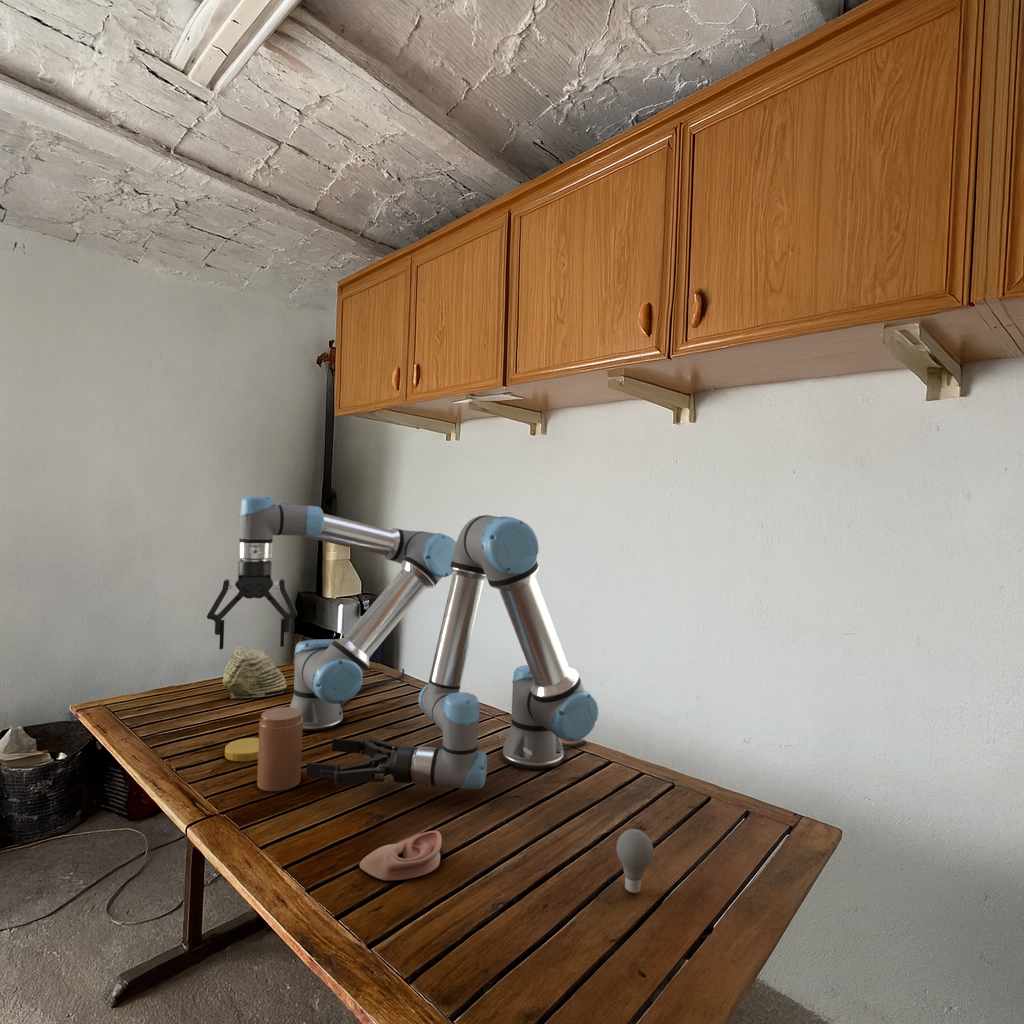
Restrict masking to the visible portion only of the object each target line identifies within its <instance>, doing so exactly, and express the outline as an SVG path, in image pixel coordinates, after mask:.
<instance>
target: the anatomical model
mask: <svg viewBox="0 0 1024 1024" xmlns="http://www.w3.org/2000/svg"><path fill="white" fill-rule="evenodd" d="M442 843H443V838H442V834H441V833H440V831H438V830H429V831H426V832H422V833H418V834H416V835H414V836H411V837H410V838H407V839H404V840H403V841H400V842H397V843H390V844H386V845H382V846H380V847H378V848H375V850H373V851H371V852H370V853H369V854H367V855H366V856H364V857H363V859H362V860H361V861H360V863H359V868H360V869H361V870H362V871H363V872H365V873H367V874H368V875H370V876H372V877H374V878H376V879H378V880H381V881H389V882H390V881H401V880H409V879H413V878H418V877H421V876H424V875H427V874H430V873H431V872H433V871H435V870H436V869H437V868H438V867H439V866H440V863H441V862H440V861H441V853H440V851H441V848H442Z"/></svg>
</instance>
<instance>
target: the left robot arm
mask: <svg viewBox="0 0 1024 1024" xmlns="http://www.w3.org/2000/svg"><path fill="white" fill-rule="evenodd" d="M240 503H241V504H240V510H239V511H240V512H239V539H238V558H239V561H238V564H237V565H238V566H237V579H236V580H231V579H228V578H224V580H223V583H222V589H221V590H220V592H219V594H218V596H217V597H216V599H215V601H214V602H213V604H212V606H211V608H210V609H209V611H208V613H207V614H206V619H207V620H212V621H214V634H215V636H219V646H218V647H219V648H218V649H219V650H224V644H225V643H224V642H225V619H223V618H225V616H226V615H227V614H228V613H229V612H230V611H231V610H232V609H233V608H234V607H235V606H236V605H237V603H239V602H240V601H241V600H242V598H245V599H262V598H264V597H265V599H266V600H268V602H269V603H270V604H271V605H272V606H273V607H274V608H275V610H277V612H278V613H279V614H280V615H281V618H280V637H279V639H280V640H279V647H280V648H284V646H285V633H290V621H291V619H292V618H296V617H298V612H297V610H296V607H295V605H294V604H293V601H292V599H291V597H290V595H289V593H288V591H287V589H286V584H285V579H284V578H280V579H275V580H274V579H272V567H273V566H272V565H273V562H272V561H271V560H270V559H272V558H273V544H274V543H273V538H274V536H298V537H303V538H308V539H311V540H312V539H313V540H316V541H321V542H325V543H328V544H329V543H330V544H333V545H338V546H342V547H346V548H351V549H354V550H359V551H364V552H367V553H368V552H369V553H373V554H377V555H380V556H383V557H384V558H385V560H387V561H392V562H395V563H397V564H399V565H400V564H401V570H400V571H399V572H398V573H397V575H396V576H395V577H394V578H393V579H392V581H391V582H390V583H389V584H388V585H387V587H386V588H385V589H384V590H383V591H382V592H381V593H380V595H378V597H377V598H376V599H375V600H374V601H373V603H372V604H371V605H370V606H369V607H368V609H367V610H366V611H365V612H364V614H362V616H361V617H360V618H359V620H357V622H356V623H355V624H354V625H353V627H352V628H351V629H350V630H349V631H348V633H347V634H346V635H345V636H344V637H342V638H335V639H332V638H324V639H321V638H320V639H307V640H303V641H299V642H297V644H295V650H294V653H293V654H294V655H293V656H294V672H293V673H294V674H293V695H292V696H293V697H292V699H291V702H290V704H289V707H291V708H296V709H299V710H300V711H301V717H302V718H303V733H316V732H325V731H329V730H332V729H335V728H337V727H339V726H340V725H342V723H343V722H344V714H343V709H342V707H343V706H344V705H345V704H346V703H347V702H348V701H350V700H352V699H353V698H354V697H355V696H356V695H357V694H358V693H359V692H360V691H363V690H366V689H369V688H372V687H377V686H379V685H380V686H381V685H383V684H387V683H389V682H393V681H396V680H399V679H401V678H403V677H404V676H405V668H401V675H399V676H396V677H393V678H390V679H387V680H383V681H379V682H374V683H372V684H369V685H365V686H362V685H363V675H364V674H365V673H366V672H367V671H368V669H369V668H370V659H371V656H372V655H373V654H374V653H375V651H376V650H377V649H378V648H379V646H380V645H381V644H382V643H383V642H384V640H385V639H386V638H387V637H388V635H390V633H391V632H392V631H393V630H394V628H395V627H396V626H397V624H398V623H399V622H400V621H401V620H402V618H403V617H404V616H405V615H406V614H407V612H408V611H409V610H410V609H411V608H412V606H413V605H414V604H415V603H416V602H417V600H418V599H419V598H420V597H421V595H422V594H423V593H424V592H425V590H428V589H433V588H435V587H436V585H438V584H439V582H440V581H441V579H442V578H447V577H450V576H452V575H453V572H452V570H451V569H450V566H451V561H452V556H453V553H454V549H455V545H456V542H457V540H455V539H454V538H453V537H451V536H450V535H446V534H444V533H442V532H441V533H440V532H428V531H422V530H421V531H420V530H406V529H401V528H396V527H394V528H392V529H387V528H384V527H383V528H382V527H379V526H375V525H371V524H367V523H363V522H359V521H355V520H352V519H348V518H343V517H339V516H336V515H331V514H327V513H324V511H323V508H321V506H316V505H315V506H314V505H310V504H309V505H298V504H297V505H296V504H288V503H284V502H283V503H278V504H276V503H275V499H274V498H273V497H272V496H262V495H261V496H260V495H259V496H258V495H245V496H244V497H242V499H241V501H240ZM234 586H235V587H236V589H237V590H238V592H237V593H236V594H235V595H234V596H233V598H231V600H230V601H229V602H228V603H227V604H226V605H225V606H224V607H223V608H222V609H221V610H220V612H218V614H217V613H216V612H217V610H218V608H219V607H220V605H221V604H222V602H223V600H224V598H225V597H226V595H227V592H228V591H229V590H231V589H233V587H234ZM273 586H275V588H276V589H278V590H279V591H280V593H281V596H282V597H283V599H284V601H285V604H286V605H287V607H288V610H289V612H288V611H287V610H286V609H285V608H284V607H283V606H282V605H281V604H280V602H279V601H278V600H277V598H275V596H274V595H273V594H272V593H271V592H270V590H271V589H272V588H273ZM282 617H283V618H282Z"/></svg>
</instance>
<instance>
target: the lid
mask: <svg viewBox="0 0 1024 1024" xmlns="http://www.w3.org/2000/svg"><path fill="white" fill-rule="evenodd" d="M258 740H259V737H245V738H239V739H235V740H232V741H230V742H228V743H227V744H226V745H225V747H224V754H223V755H224V757H225V758H226V760H229V761H232V762H238V763H239V762H241V763H242V762H243V763H244V762H252V761H256V760H257V761H258Z"/></svg>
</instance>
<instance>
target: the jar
mask: <svg viewBox="0 0 1024 1024" xmlns="http://www.w3.org/2000/svg"><path fill="white" fill-rule="evenodd" d="M303 733H304V732H303V718H302V717H301V711H300V710H299V709H296V708H291V707H290V706H282V707H281V706H280V707H275V708H270V709H267V710H265V711H263V712H262V713H261V714H260V720H259V722H258V738H259V740H258V759H257V769H256V786H257V787H258V789H260V790H262V791H266V792H282V791H287V790H290V789H292V788H295V787H296V786H298V785H299V784H300V783H301V781H302V759H303V758H302V757H303Z"/></svg>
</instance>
